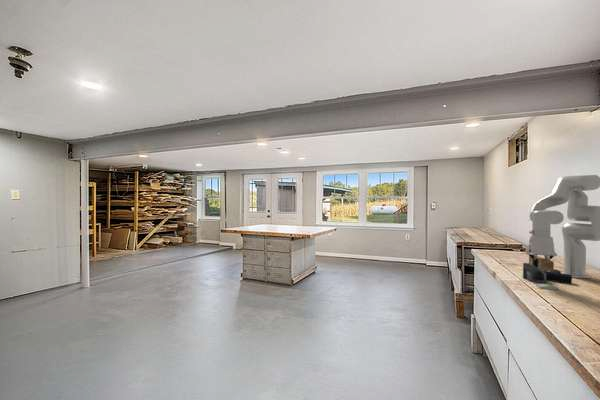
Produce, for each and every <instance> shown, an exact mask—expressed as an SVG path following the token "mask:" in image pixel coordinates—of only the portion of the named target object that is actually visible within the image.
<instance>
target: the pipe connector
mask: <svg viewBox="0 0 600 400" xmlns="http://www.w3.org/2000/svg"><path fill="white" fill-rule="evenodd" d="M543 272H544V273H546V281H552V282H558V283H562V284H570V285H571V284H572V282H573V277H572V275H569V274H562V273H561V270H558V269H555V268H554V271H544V270H543Z"/></svg>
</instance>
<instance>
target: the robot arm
mask: <svg viewBox="0 0 600 400" xmlns="http://www.w3.org/2000/svg"><path fill="white" fill-rule="evenodd" d="M599 188H600V176H598V175H597V174H588V175H587V174H586V175H569V176H561V177H559V178H557V180H556V182H555V183H554V185H553V187H552V190H551V192H550V194H549V195H547V196H545V197H543V198H542V199H540V200H538V201H537V202H535V204H534V205H533V206H532V209H531V211H530V213H529V219H530V221H531V222H532V225H531V226H532V230H529V232H528V233H529V234H530V237H529V241H528V248H527V249H526V251H525V252H524V253H525V254H526V255H527V256H528V257H529V256H530V257H531V258H532V259H533V262H532V264H533V266H534V267H538V260H537V256H539V255H540V256H541V255H542V256H544V258H545V259H548V260H550V261H551V260H552V259H553V258H555V257H557V256H558V254H557V252H556V251H555V242H554V238H553V236H552V235H551V225H559V224H562V222H563V221H564V219H565V217H564V214H563V213H562V212H561V211H558V210H547V209H549V208H552V207H557V206H561V205H563V204H565V203H567V210H566V215H567V219H568V220H569V221H573V222H569V223H565V224H562V227H561V234H562V237H563V266H562V269H563V270H560V272H561V273H562V274H569V275H572V278H575V279H576V278H577V279H590V275H589V274H587V273H586V272H587V247H586V245H585V243H584V242H583V241H591V242H600V205H589V197H588V195H587V194H586V192H584V191H594V190H598V189H599ZM578 222H586V223H578ZM588 222H589V223H588ZM590 223H591V224H590Z"/></svg>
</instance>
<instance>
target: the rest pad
mask: <svg viewBox="0 0 600 400" xmlns="http://www.w3.org/2000/svg"><path fill="white" fill-rule="evenodd" d="M536 287H538V289H545V290H555V291H556V290H557V291H560V287H558V286H556V285H553V284H552V285H551V284H539V283H537V284H536Z"/></svg>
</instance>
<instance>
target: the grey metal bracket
mask: <svg viewBox="0 0 600 400" xmlns="http://www.w3.org/2000/svg"><path fill="white" fill-rule="evenodd" d="M543 271H544V270H541V269H539V268H537V267H534V266H532V265H530V264H529V262H522V279H525V280H527V281H528V282H530V283H544V284H547V280H546V273H544V272H543Z"/></svg>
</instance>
